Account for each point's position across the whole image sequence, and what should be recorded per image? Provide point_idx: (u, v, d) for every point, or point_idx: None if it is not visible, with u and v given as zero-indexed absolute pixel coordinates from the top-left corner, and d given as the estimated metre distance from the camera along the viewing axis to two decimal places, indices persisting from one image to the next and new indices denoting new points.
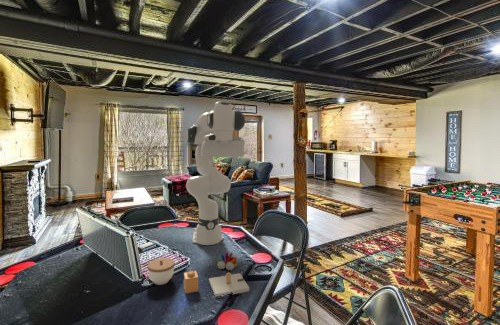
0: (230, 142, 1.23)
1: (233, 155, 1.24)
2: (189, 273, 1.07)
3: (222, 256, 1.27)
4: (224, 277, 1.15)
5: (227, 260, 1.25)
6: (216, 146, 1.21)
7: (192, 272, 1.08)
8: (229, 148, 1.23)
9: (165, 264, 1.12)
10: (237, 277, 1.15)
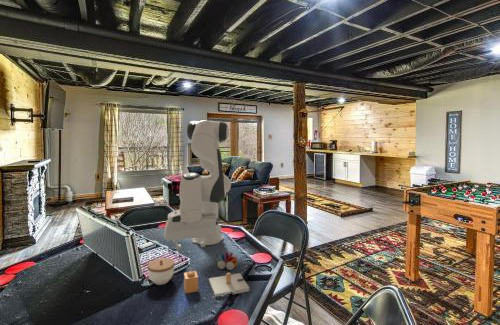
0: (199, 221, 1.05)
1: (203, 235, 1.06)
2: (189, 273, 1.07)
3: (222, 256, 1.27)
4: (224, 277, 1.15)
5: (227, 260, 1.25)
6: (182, 227, 1.03)
7: (192, 272, 1.08)
8: (199, 227, 1.05)
9: (165, 264, 1.12)
10: (237, 277, 1.15)
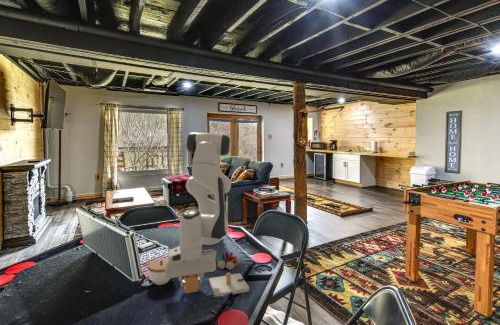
0: (199, 258, 1.06)
1: (203, 271, 1.08)
2: None
3: (222, 255, 1.28)
4: (224, 277, 1.15)
5: (227, 259, 1.25)
6: (182, 264, 1.05)
7: None
8: (198, 263, 1.07)
9: None
10: (237, 277, 1.15)
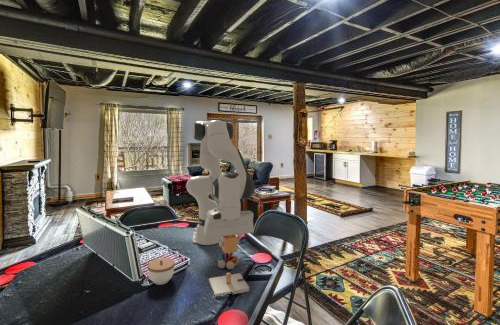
0: (238, 218, 1.07)
1: (241, 232, 1.08)
2: None
3: (222, 255, 1.28)
4: (224, 277, 1.15)
5: (227, 259, 1.25)
6: (222, 224, 1.05)
7: None
8: (237, 224, 1.08)
9: (165, 264, 1.12)
10: (237, 277, 1.15)
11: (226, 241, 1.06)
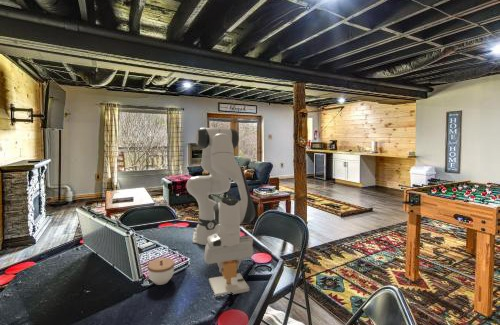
0: (237, 244, 1.08)
1: (241, 257, 1.09)
2: None
3: None
4: None
5: None
6: (222, 250, 1.06)
7: None
8: (237, 250, 1.09)
9: (165, 264, 1.12)
10: (237, 277, 1.15)
11: (226, 267, 1.07)
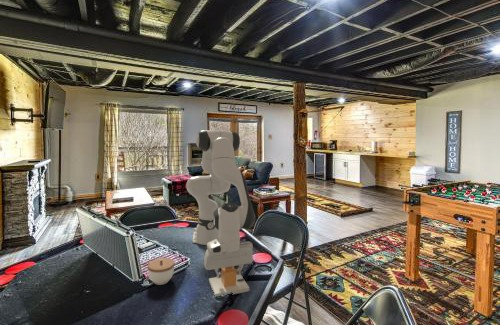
0: (237, 250, 1.09)
1: (240, 263, 1.10)
2: (227, 267, 1.09)
3: None
4: None
5: None
6: (221, 256, 1.07)
7: None
8: (236, 256, 1.09)
9: (165, 264, 1.12)
10: (237, 277, 1.15)
11: (225, 275, 1.07)
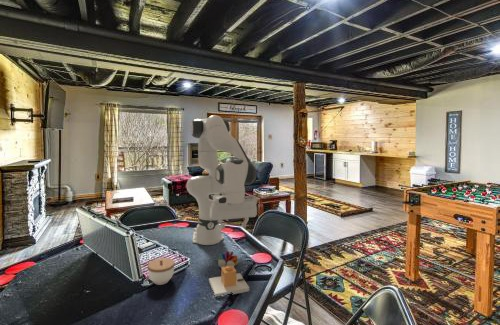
0: (242, 202, 1.12)
1: (245, 216, 1.13)
2: (227, 267, 1.09)
3: (223, 255, 1.29)
4: None
5: (228, 259, 1.26)
6: (227, 208, 1.10)
7: (230, 266, 1.10)
8: (241, 208, 1.12)
9: (165, 264, 1.12)
10: (237, 277, 1.15)
11: (225, 275, 1.07)
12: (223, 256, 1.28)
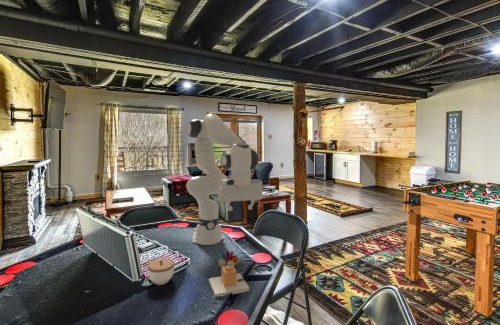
0: (248, 185, 1.18)
1: (251, 198, 1.19)
2: (227, 267, 1.09)
3: (223, 254, 1.29)
4: None
5: (228, 258, 1.26)
6: (234, 190, 1.16)
7: (230, 266, 1.10)
8: (248, 191, 1.19)
9: (165, 264, 1.12)
10: (237, 277, 1.15)
11: (225, 275, 1.07)
12: (223, 256, 1.28)
